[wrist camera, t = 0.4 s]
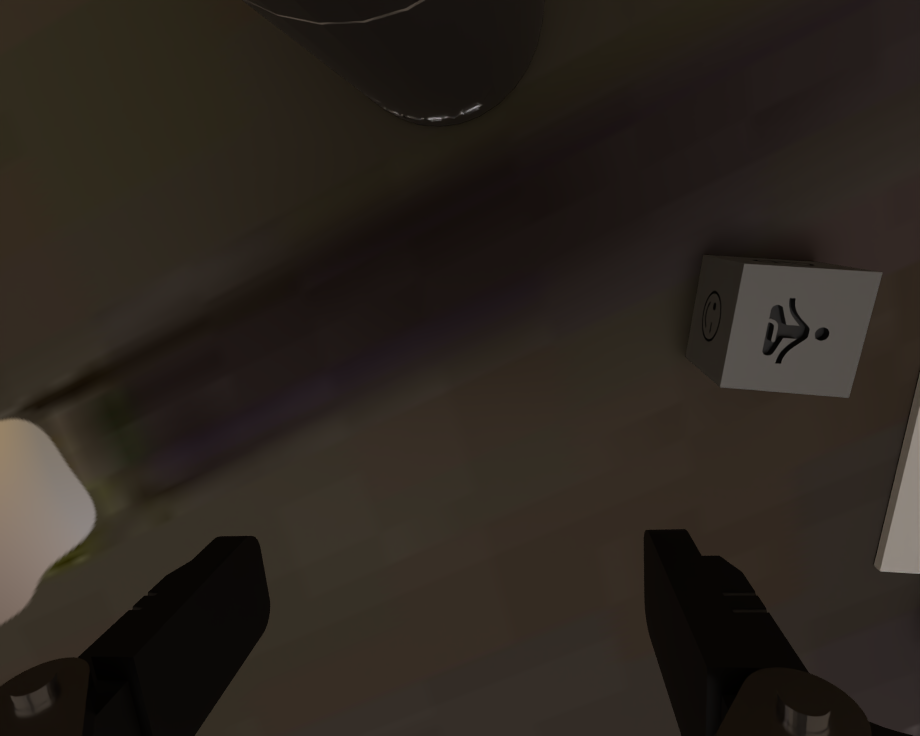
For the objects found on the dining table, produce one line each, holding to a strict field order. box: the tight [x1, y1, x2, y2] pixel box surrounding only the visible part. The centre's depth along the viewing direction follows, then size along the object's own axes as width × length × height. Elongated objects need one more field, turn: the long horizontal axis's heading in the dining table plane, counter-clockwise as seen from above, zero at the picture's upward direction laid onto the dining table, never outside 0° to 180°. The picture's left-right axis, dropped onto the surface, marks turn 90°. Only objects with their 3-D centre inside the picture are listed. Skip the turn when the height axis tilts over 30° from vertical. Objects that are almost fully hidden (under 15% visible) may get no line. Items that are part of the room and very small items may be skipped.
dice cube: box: [685, 255, 882, 398], centre depth 24 cm, size 5×5×5 cm
